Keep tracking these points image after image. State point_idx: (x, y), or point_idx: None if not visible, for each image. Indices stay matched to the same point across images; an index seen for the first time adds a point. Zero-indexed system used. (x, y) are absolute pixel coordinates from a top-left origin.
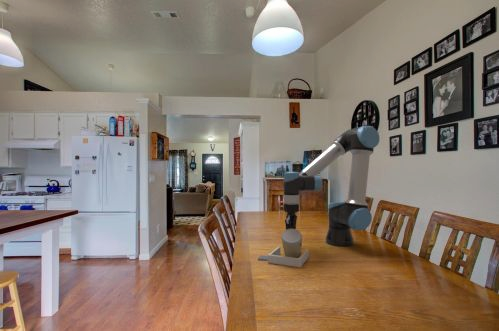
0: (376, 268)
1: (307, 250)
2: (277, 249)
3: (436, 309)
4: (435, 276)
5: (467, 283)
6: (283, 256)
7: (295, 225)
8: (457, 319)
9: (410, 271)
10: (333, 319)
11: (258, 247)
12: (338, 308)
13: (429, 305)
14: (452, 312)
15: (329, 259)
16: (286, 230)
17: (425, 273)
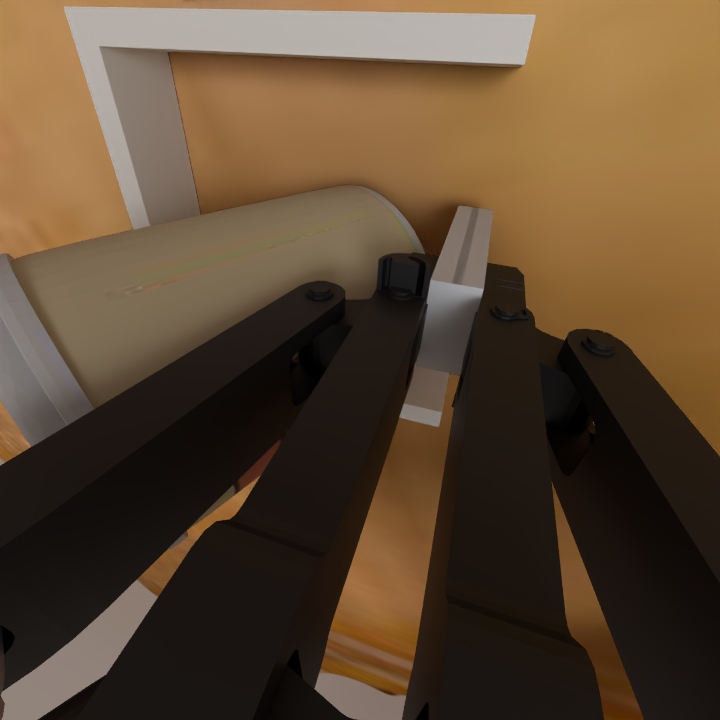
0: (361, 591)
1: (413, 418)
2: (364, 57)
3: (158, 571)
4: (351, 656)
5: (329, 669)
6: (144, 224)
7: (628, 643)
8: (143, 575)
9: (369, 641)
10: None
11: None
12: (7, 425)
13: (167, 571)
14: (164, 582)
15: (430, 488)
16: (13, 400)
17: (366, 654)
